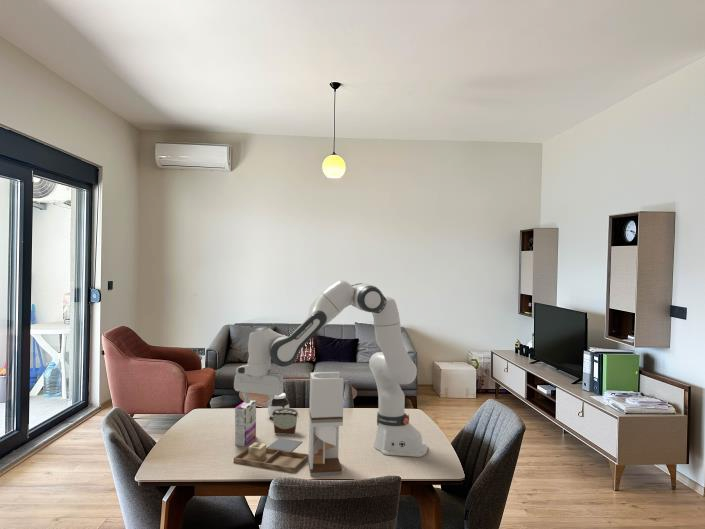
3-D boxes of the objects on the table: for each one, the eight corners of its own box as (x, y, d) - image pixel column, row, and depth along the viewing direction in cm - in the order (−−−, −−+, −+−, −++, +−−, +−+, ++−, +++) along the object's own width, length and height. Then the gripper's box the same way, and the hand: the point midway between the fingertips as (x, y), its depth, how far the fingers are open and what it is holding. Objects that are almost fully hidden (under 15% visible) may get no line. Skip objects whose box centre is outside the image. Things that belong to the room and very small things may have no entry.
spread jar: (271, 421, 220) (272, 397, 220) (263, 415, 229) (263, 392, 229) (294, 417, 226) (294, 394, 226) (285, 411, 235) (285, 389, 236)
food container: (300, 430, 209) (301, 408, 209) (298, 434, 203) (298, 412, 203) (274, 428, 210) (275, 407, 210) (271, 433, 204) (271, 411, 204)
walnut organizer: (308, 460, 176) (308, 454, 176) (294, 474, 164) (294, 468, 164) (251, 450, 184) (251, 445, 184) (233, 463, 172) (233, 458, 172)
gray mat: (302, 443, 193) (302, 441, 193) (291, 453, 183) (291, 451, 183) (279, 439, 196) (279, 438, 196) (266, 449, 186) (266, 447, 186)
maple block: (266, 456, 178) (266, 443, 178) (259, 461, 173) (260, 448, 173) (254, 454, 179) (255, 441, 179) (248, 459, 174) (248, 446, 174)
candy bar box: (245, 436, 200) (246, 399, 200) (256, 437, 199) (256, 400, 199) (234, 446, 189) (234, 407, 189) (245, 447, 188) (245, 407, 188)
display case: (310, 476, 163) (312, 379, 163) (308, 463, 173) (310, 372, 173) (341, 474, 165) (343, 378, 165) (337, 462, 175) (339, 371, 175)
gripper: (286, 369, 176) (285, 405, 176) (240, 365, 182) (239, 399, 182) (279, 373, 170) (278, 409, 170) (232, 368, 176) (231, 403, 176)
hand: (258, 404), depth 176 cm, fingers open, 8 cm apart
